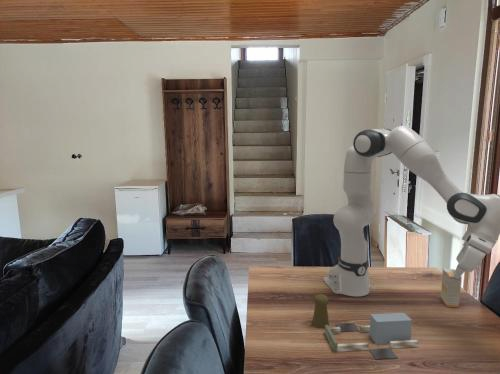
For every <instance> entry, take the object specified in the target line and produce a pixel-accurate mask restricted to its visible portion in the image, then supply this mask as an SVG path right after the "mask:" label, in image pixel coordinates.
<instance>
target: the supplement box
mask: <svg viewBox="0 0 500 374" xmlns="http://www.w3.org/2000/svg"><path fill="white" fill-rule="evenodd" d="M455 270H456V268H455V269H454V268H442V275H441V276H442V277H441V289H440V290H441V291H440V299H441V300H442V302H443V304H444V305H445V306H446V307H448V308H459V307H460V302H461V301H460V299H461V289H462V276H461V277H460V278H459V279H457V278H455V277H454V275H453V274H454V272H455Z"/></svg>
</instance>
